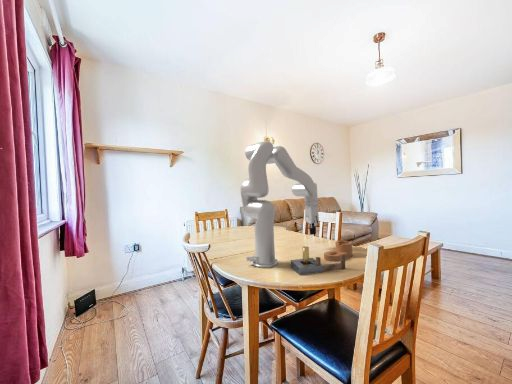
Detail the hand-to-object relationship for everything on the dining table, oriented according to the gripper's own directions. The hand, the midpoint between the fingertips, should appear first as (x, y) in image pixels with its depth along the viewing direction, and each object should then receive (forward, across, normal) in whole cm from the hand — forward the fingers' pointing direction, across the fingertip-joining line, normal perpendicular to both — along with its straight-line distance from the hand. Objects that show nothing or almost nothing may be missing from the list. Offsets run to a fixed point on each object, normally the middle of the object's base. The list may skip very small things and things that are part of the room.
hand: (312, 234), depth 139 cm
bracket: (+9, +19, +5) cm, 21 cm away
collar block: (+8, +30, -18) cm, 36 cm away
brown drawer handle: (+8, +34, -8) cm, 36 cm away
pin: (+8, +30, -18) cm, 36 cm away
